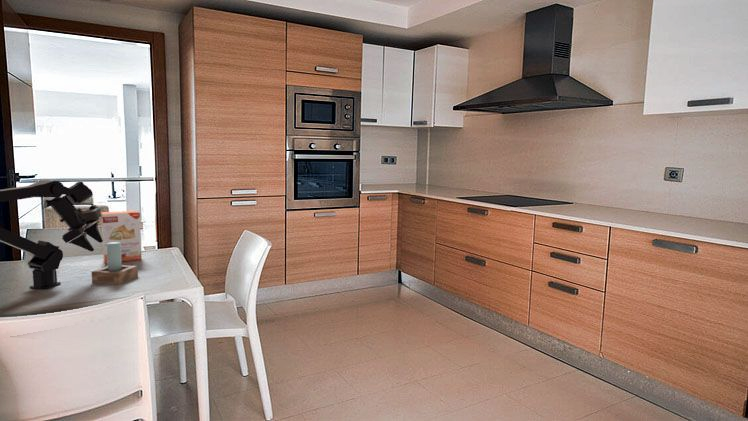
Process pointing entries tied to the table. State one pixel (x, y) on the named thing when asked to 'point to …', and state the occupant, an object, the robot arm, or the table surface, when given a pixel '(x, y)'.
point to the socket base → (114, 275)
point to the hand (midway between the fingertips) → (97, 246)
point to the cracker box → (122, 233)
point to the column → (114, 256)
